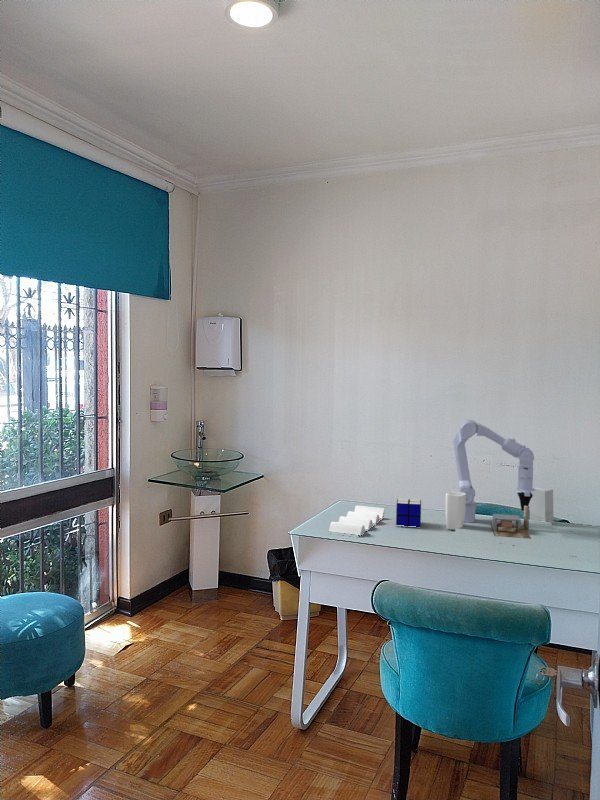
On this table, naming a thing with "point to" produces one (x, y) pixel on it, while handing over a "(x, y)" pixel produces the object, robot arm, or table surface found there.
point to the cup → (455, 509)
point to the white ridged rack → (357, 520)
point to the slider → (513, 528)
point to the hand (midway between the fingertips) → (524, 510)
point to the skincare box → (541, 505)
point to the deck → (512, 533)
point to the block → (506, 523)
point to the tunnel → (506, 518)
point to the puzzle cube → (408, 512)
